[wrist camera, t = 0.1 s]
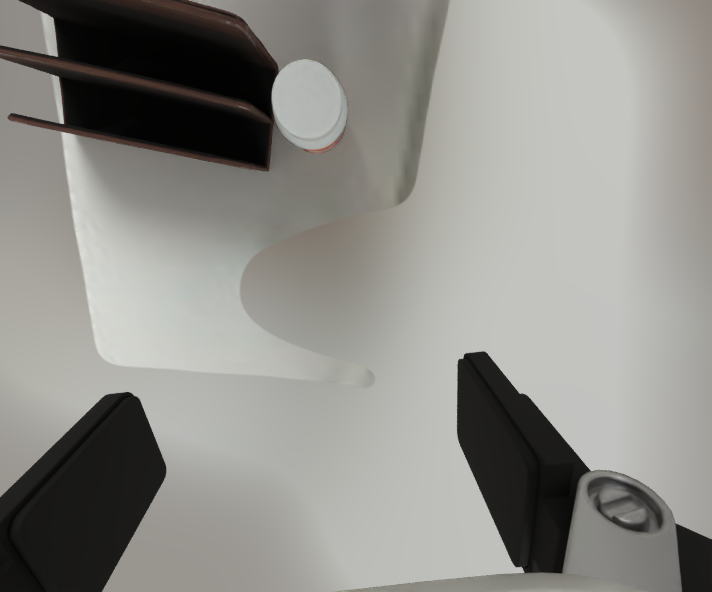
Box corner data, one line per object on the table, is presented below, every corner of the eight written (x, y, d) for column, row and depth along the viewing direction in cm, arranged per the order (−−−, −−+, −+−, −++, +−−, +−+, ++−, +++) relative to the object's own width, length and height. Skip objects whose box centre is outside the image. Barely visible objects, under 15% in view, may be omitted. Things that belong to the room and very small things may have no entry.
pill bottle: (316, 166, 37) (308, 165, 26) (273, 120, 35) (245, 99, 24) (358, 122, 35) (366, 103, 25) (315, 72, 34) (304, 27, 23)
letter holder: (62, 14, 31) (-143, -100, 18) (280, 66, 33) (243, -1, 20) (71, 132, 34) (-94, 110, 21) (269, 172, 37) (231, 175, 23)
